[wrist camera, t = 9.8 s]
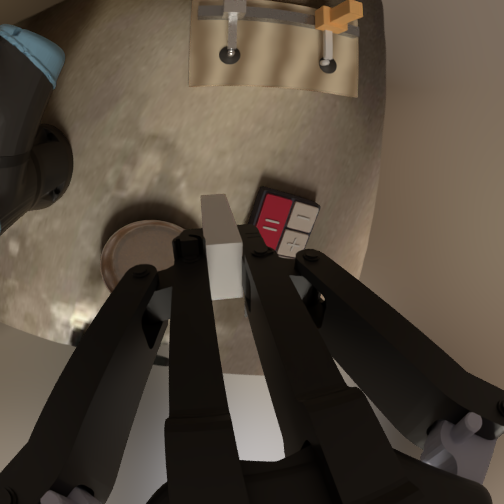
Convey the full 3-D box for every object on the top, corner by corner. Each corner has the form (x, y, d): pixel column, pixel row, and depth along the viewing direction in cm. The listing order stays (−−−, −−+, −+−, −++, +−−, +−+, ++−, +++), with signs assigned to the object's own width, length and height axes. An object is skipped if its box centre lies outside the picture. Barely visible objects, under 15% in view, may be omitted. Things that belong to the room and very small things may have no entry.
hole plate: (189, 87, 35) (188, 85, 34) (192, 1, 28) (192, -3, 26) (353, 97, 40) (358, 97, 39) (353, 21, 33) (358, 19, 31)
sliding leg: (311, 63, 35) (344, 53, 25) (311, 13, 30) (342, -7, 21) (333, 67, 35) (370, 60, 26) (333, 18, 31) (368, 2, 21)
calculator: (323, 207, 46) (293, 280, 52) (313, 200, 50) (286, 269, 56) (265, 190, 43) (239, 271, 48) (259, 184, 47) (235, 260, 52)
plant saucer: (218, 297, 56) (219, 308, 53) (125, 313, 53) (122, 323, 50) (199, 202, 45) (199, 209, 43) (90, 226, 43) (84, 233, 40)
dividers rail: (196, 58, 32) (196, 51, 28) (198, 7, 28) (199, -5, 23) (353, 73, 37) (369, 71, 32) (353, 27, 32) (368, 21, 28)
